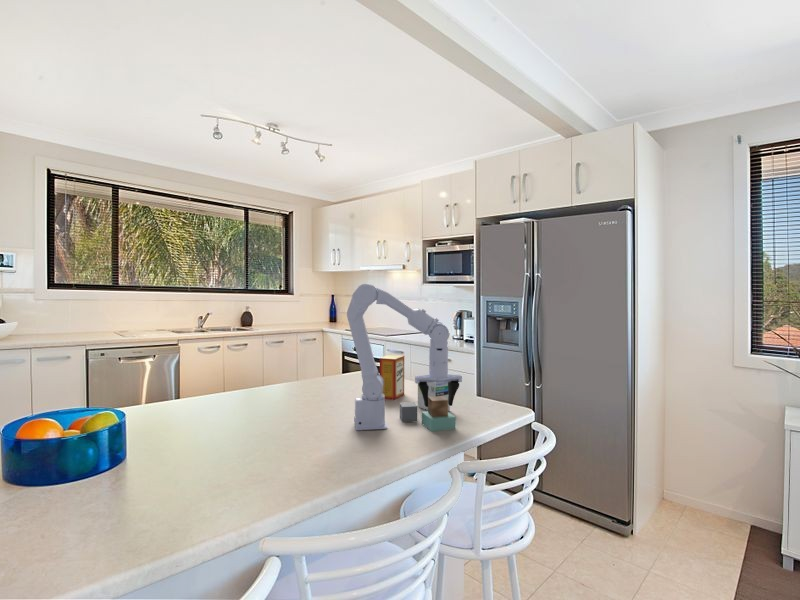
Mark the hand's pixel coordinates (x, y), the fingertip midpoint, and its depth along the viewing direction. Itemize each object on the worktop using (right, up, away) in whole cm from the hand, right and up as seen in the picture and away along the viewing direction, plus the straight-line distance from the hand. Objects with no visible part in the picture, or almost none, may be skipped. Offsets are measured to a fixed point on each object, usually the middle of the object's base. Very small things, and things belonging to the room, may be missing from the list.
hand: (438, 405), depth 133 cm
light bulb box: (0, -6, +19) cm, 20 cm away
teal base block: (0, -7, 0) cm, 7 cm away
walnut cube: (0, -3, 0) cm, 3 cm away
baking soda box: (-15, -6, +37) cm, 41 cm away
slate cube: (-9, -6, +7) cm, 13 cm away
